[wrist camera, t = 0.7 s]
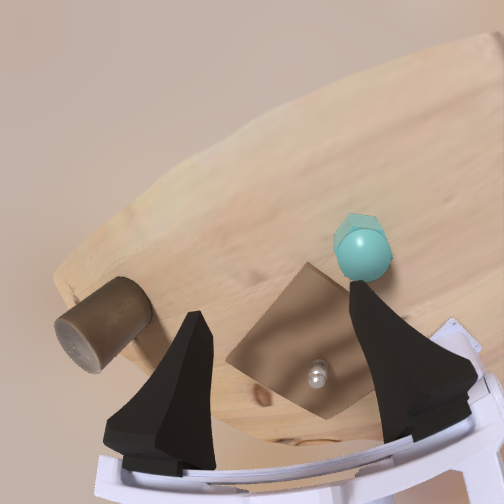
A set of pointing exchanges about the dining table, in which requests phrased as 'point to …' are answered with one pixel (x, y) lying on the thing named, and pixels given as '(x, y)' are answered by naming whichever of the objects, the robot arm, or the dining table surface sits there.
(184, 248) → the dining table surface
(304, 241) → the dining table surface
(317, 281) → the brown flat square slab
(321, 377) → the stud
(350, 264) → the cap
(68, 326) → the pillar candle
